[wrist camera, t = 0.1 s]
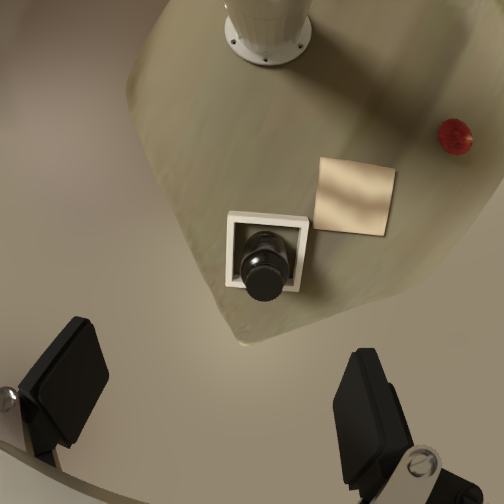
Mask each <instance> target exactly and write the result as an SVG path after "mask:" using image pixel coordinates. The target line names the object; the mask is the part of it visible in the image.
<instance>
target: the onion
mask: <svg viewBox="0 0 504 504" xmlns="http://www.w3.org/2000/svg"><path fill="white" fill-rule="evenodd" d="M438 140H439V142H440V144H441V146H442V148H444V149H445V150H446V151H447V152H448V153H450V154H454V155H461V154H465V153H466V152H467V151H468V150H469V149H470V147H471V146H472V142H473V138H472V134H471V132H470V129H469V128H468V127H467V126H466V124H465V123H463V122H462V121H460V120H458V119H448V120H446V121H444V122H443V123H442V124H441V126H440V127H439V131H438Z"/></svg>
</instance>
